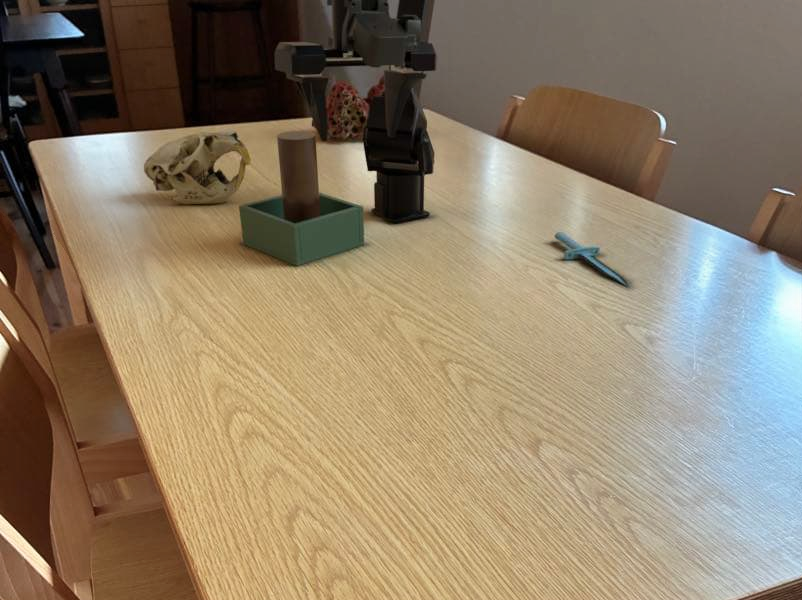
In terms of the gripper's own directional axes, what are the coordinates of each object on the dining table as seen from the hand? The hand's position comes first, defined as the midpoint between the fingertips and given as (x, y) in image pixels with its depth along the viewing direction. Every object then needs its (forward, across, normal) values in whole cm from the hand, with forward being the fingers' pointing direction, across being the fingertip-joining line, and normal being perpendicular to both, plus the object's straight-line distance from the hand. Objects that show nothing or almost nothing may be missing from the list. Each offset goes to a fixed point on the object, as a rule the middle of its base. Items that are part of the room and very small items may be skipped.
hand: (358, 138), depth 99 cm
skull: (+13, -11, +31) cm, 36 cm away
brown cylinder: (+13, -5, +6) cm, 15 cm away
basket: (+14, -6, +6) cm, 16 cm away
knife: (+13, +24, -19) cm, 33 cm away
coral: (+10, +30, +58) cm, 66 cm away
